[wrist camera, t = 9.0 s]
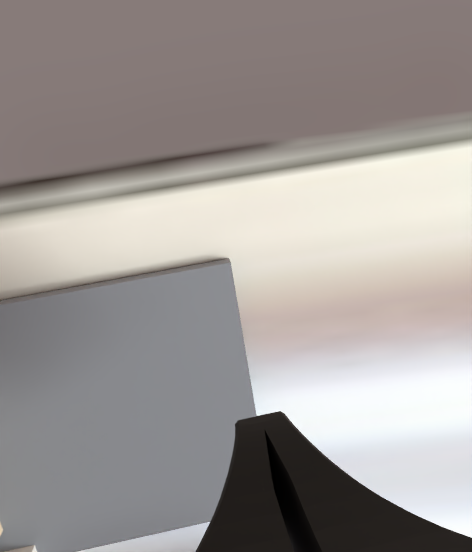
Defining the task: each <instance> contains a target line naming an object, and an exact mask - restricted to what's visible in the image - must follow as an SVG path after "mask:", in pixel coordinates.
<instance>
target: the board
mask: <svg viewBox="0 0 472 552" xmlns="http://www.w3.org/2000/svg"><path fill="white" fill-rule="evenodd" d="M251 417H256V411H255V405H254V399H253V393H252V387H251V381H250V375H249V369H248V363H247V357H246V351H245V345H244V339H243V333H242V328H241V322H240V316H239V310H238V304H237V298H236V292H235V286H234V280H233V274H232V268H231V262H230V260H229V259H223V260H218V261H212V262H207V263H202V264H196V265H191V266H185V267H180V268H174V269H169V270H164V271H158V272H153V273H147V274H142V275H136V276H131V277H126V278H120V279H115V280H109V281H104V282H98V283H93V284H88V285H82V286H77V287H71V288H66V289H60V290H55V291H50V292H44V293H39V294H33V295H28V296H22V297H17V298H12V299H6V300H1V301H0V523H1V526H2V528H3V531H2V534H1V536H0V552H5V551H10V550H14V549H19V548H23V547H28V546H32V545H35V547H36V550H37V552H77V551H81V550H85V549H90V548H94V547H99V546H103V545H108V544H112V543H117V542H121V541H125V540H130V539H134V538H139V537H143V536H148V535H152V534H157V533H161V532H166V531H170V530H174V529H179V528H183V527H188V526H192V525H197V524H201V523H206V522H210V521H211V519H212V517H213V515H214V512H215V510H216V507H217V505H218V502H219V499H220V497H221V493H222V490H223V487H224V484H225V481H226V478H227V474H228V471H229V466H230V462H231V458H232V453H233V448H234V441H235V424H236V422H237V421H238V420H241V419H246V418H251Z"/></svg>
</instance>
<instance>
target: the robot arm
mask: <svg viewBox="0 0 472 552" xmlns="http://www.w3.org/2000/svg"><path fill="white" fill-rule="evenodd" d="M196 552H472V538H470V537H468V536H465V535H462V534H459V533H457V532H454V531H451V530H448V529H446V528H443V527H441V526H439V525H436V524H434V523H432V522H430V521H427V520H425V519H423V518H421V517H418V516H416V515H414V514H412V513H410V512H408V511H406V510H404V509H403V508H401V507H399V506H397V505H395V504H393V503H391V502H390V501H388V500H386V499H384V498H382V497H381V496H379V495H377V494H376V493H374V492H373V491H371V490H369V489H368V488H366V487H365V486H363V485H362V484H361V483H359V482H358V481H356V480H355V479H353V478H352V477H351V476H349V475H348V474H347V473H345V472H344V471H343V470H342V469H340V468H339V467H338V466H337V465H335V464H334V463H333V462H332V461H331V460H329V459H328V458H327V457H326V456H325V455H324V454H322V453H321V452H320V451H319V450H318V449H317V448H316V447H315V446H314V445H313V444H312V443H311V442H310V441H309V440H308V439H307V438H306V437H305V436H304V435H303V434H302V433H301V432H300V431H299V430H298V429H297V428H296V427H295V426H294V425H293V424H292V422H291V421H290V420H289V419H288V418H287V416H286V415H285V414H284V413H282V412H281V411H279V412H275V413H270V414H265V415H260V416H256V417H251V418H246V419H241V420H238V421H237V422H236V424H235V441H234V448H233V453H232V458H231V462H230V466H229V471H228V474H227V478H226V481H225V484H224V487H223V490H222V493H221V497H220V499H219V502H218V505H217V507H216V510H215V512H214V515H213V517H212V519H211V522H210V524H209V526H208V528H207V530H206V532H205V534H204V536H203V538H202V540H201V542H200V544H199V546H198V548H197V550H196Z"/></svg>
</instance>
